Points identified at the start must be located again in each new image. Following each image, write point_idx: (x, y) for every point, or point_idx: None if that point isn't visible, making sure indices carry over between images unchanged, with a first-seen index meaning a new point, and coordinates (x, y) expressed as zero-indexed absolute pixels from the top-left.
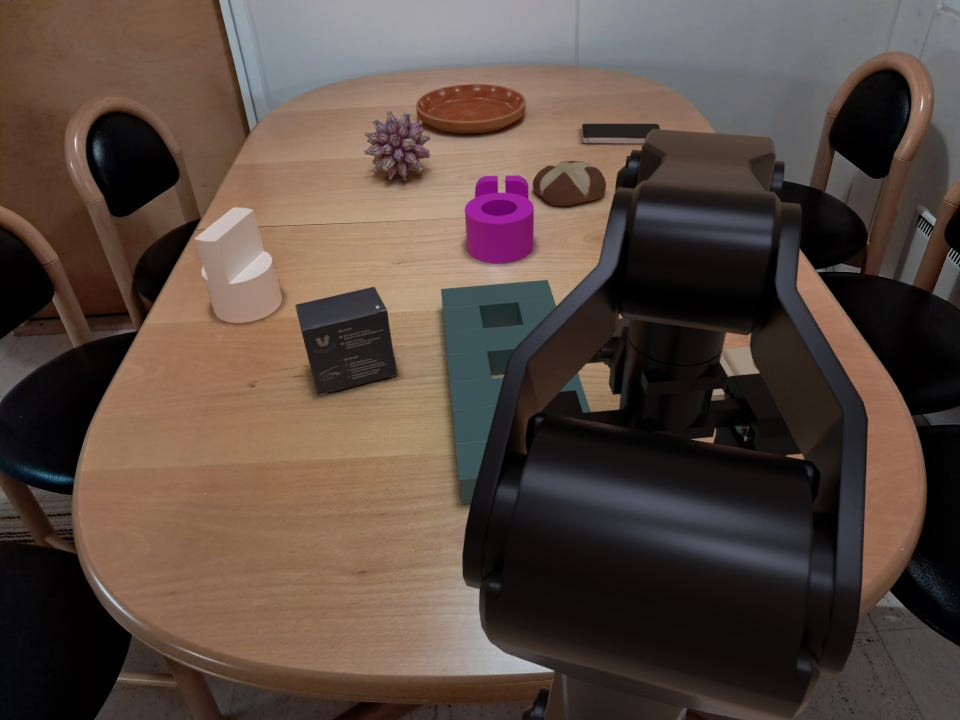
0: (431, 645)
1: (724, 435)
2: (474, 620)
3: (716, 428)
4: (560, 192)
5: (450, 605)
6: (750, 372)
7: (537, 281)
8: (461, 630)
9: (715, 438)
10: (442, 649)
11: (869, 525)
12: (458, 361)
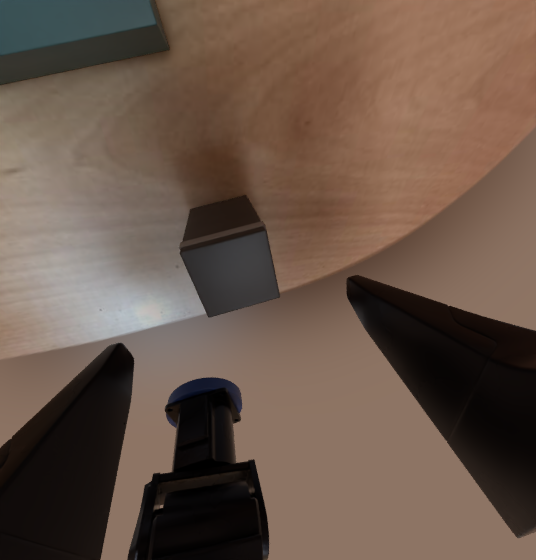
0: (24, 332)
1: (531, 436)
2: (55, 302)
3: (528, 379)
4: None
5: (13, 292)
6: None
7: None
8: (47, 314)
9: (481, 359)
10: (39, 333)
11: (509, 116)
12: None
